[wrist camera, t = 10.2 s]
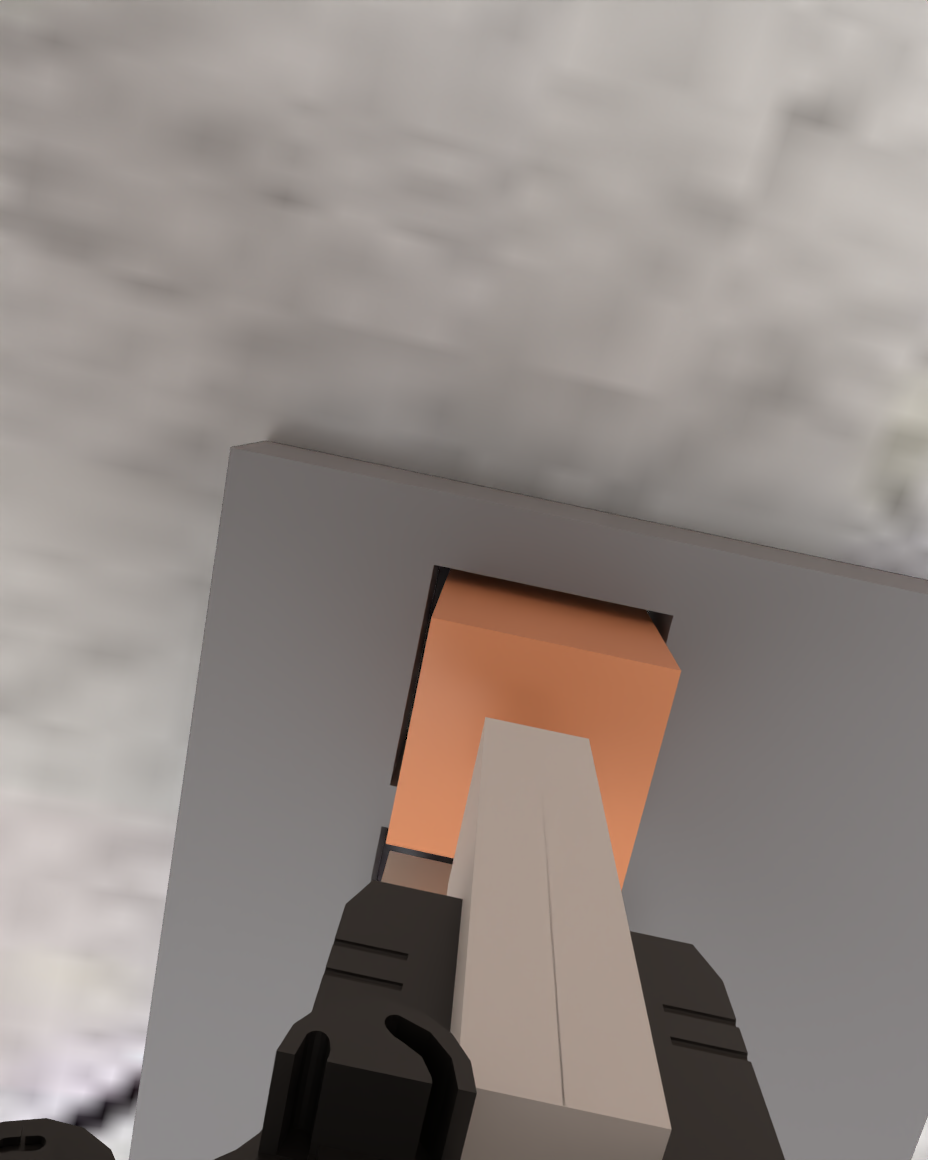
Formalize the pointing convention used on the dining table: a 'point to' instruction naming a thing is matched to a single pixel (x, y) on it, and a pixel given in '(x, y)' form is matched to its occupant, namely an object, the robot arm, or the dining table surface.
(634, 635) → the button
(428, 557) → the console
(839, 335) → the dining table surface
